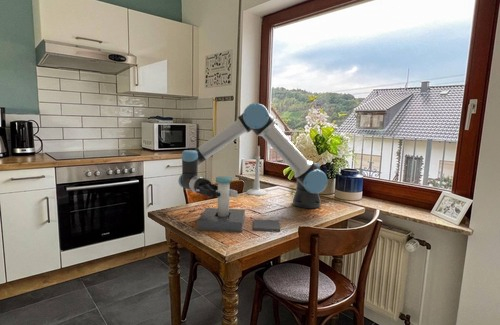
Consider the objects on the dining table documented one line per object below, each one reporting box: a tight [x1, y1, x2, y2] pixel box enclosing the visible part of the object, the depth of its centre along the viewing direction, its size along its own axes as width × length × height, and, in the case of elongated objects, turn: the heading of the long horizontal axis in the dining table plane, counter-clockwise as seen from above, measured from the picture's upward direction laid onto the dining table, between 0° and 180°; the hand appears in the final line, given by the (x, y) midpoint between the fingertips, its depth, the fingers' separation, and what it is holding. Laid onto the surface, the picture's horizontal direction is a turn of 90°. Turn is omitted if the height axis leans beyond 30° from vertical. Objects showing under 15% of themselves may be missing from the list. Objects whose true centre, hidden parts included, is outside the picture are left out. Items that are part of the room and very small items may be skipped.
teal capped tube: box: [215, 175, 233, 217], centre depth 127 cm, size 7×7×17 cm
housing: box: [197, 207, 246, 233], centre depth 129 cm, size 18×18×4 cm
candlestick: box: [245, 145, 268, 197], centre depth 184 cm, size 13×13×30 cm
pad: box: [252, 218, 281, 232], centre depth 127 cm, size 11×11×1 cm
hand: (231, 195), depth 123 cm, fingers closed on teal capped tube, 5 cm apart
